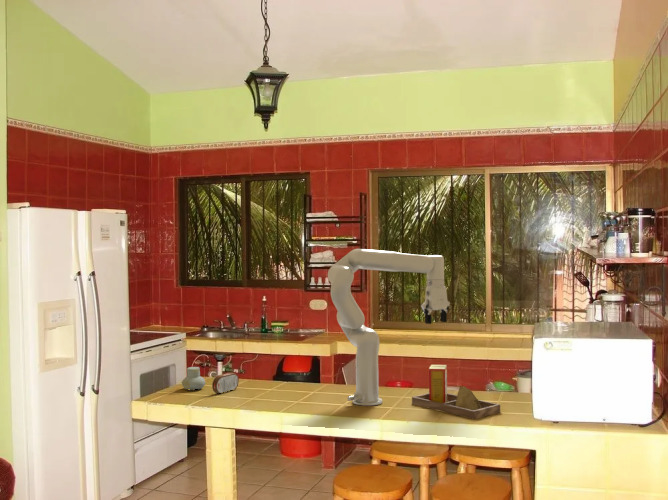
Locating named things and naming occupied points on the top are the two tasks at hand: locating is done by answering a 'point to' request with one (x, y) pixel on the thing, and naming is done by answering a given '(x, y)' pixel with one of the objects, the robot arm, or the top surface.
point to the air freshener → (193, 379)
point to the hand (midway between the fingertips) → (435, 322)
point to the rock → (467, 399)
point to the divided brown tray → (450, 407)
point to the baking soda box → (438, 383)
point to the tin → (225, 382)
